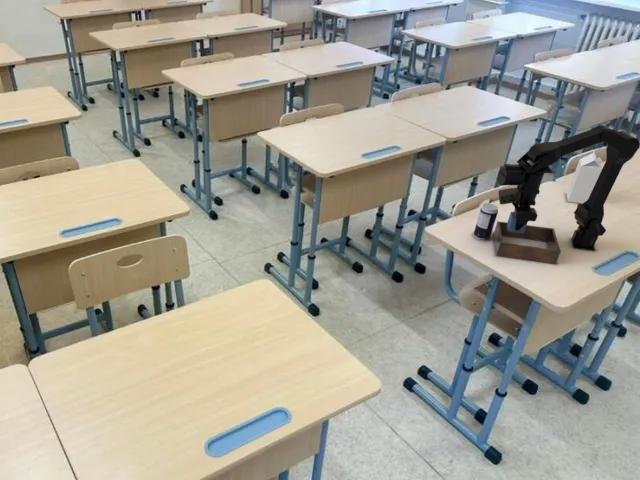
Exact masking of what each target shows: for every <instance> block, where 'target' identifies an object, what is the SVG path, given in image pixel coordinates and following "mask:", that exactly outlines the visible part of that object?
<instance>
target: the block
mask: <svg viewBox="0 0 640 480" xmlns="http://www.w3.org/2000/svg"><path fill="white" fill-rule="evenodd" d="M528 223H529V221H528V222H527V223H526V224H525V225H524V226H523V227H522V228H521V229H520V230H515V226H516V218H515V216H514V212H513V211H510V214H509V217H508V219H507V229H508V232H516V233H524V231H525V228H526V225H528Z"/></svg>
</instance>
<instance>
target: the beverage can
mask: <svg viewBox="0 0 640 480" xmlns="http://www.w3.org/2000/svg"><path fill="white" fill-rule="evenodd" d="M498 214H499V207H498V206H497V205H495V204H494V203H484V204H483V205H482V206H481V208H480V210H479V214H478V216H477V219H476V224H475V228H474V231H473V235H474V237H475V238H476V239H478V240H483V241H484V240H487V239H489V238H491V236H492V232H493V231H494V230H493V229H494V228H495V227H494V226H495V223H496V220H497V216H498Z"/></svg>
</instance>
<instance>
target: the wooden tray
mask: <svg viewBox="0 0 640 480" xmlns="http://www.w3.org/2000/svg"><path fill="white" fill-rule="evenodd" d="M507 222H508V221H507ZM507 222H505V221H498V220H497V222H496V225H495V227H494V230H493V240H494V248H495V255H496V257H502V258H510V259H516V260H524V261H530V262H531V261H532V262H538V263H544V264H552V265H556V264H557V262H558V259H559V257H560V254H561V247H560V244H559V240H558V237H557V233H556V230H555V228H554V227H553V228H551V227H546V226H545V227H544V226H538V225H529V224H527V225H526V228H525V231H524V233H516V232H508V229H507ZM503 236H505V237H512V238H519V239H526V240H534V241H539V242H540V241H541V242H547V243H546V244H547V246H548V248H547V247H539V246H531V245H523V244H516V243H509V242H503Z"/></svg>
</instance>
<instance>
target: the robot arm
mask: <svg viewBox="0 0 640 480" xmlns="http://www.w3.org/2000/svg"><path fill="white" fill-rule="evenodd" d="M601 143H605V144H607V145H606V148H605V150H606V151H605V153H606V155H605V156H606V160H605V162H604V164H603V167H602V170H601V173H600V175H599V177H598V179H597V181H596V183H595V186H594V188H593V190H592V192H591V194H590V196H589V198H588V200H587V201H585V202H584V203H583V204H582V203H577V206H576V209H575V210H574V211H573V214H574V217H573V218H574V220H576V221H575V222H576V225H578V226H577V228H576V229H575V230H574V231H573V234H572V236H571V238H570V242H571V243H572V245H573V248H574V249H579V250H588V251H595V250H596V248H595V245H596V242H597V240H598V239H599V236H603V235H604V234H605V233H606V232H607V230H606V228H605V227H604V225H603V224H602V223H603V220H604V216H605V204H606V201H607V199H608V197H609V195H610V193H611V192H612V189H613V187H614V185H615V182H616V181H617V179H618V177H619V175H620V172H621V170H622V169H623V166H624V165H625V164H626V163H628V162H629V161H630V160H632V159H633V157H634V156H635V154H636V153H637V152H638V151H639V149H640V141H639V139H638V138H637V137H635V136H633V135H631V134H630V133H628V131H626V130H619V131H617V130H615V129H613V128H610V127H608V126H606V125H605V124H598V125H597V126H595V127H593V128H591V129H588V130H586V131H583V132H580V133H577V134H574V135H572V136H569V137H566V138H563V139H561V140H558V141H545V142H540V143H539V142H538V143H535V144H533V145H531V146H530V148H529V149H528V151H526V152H525V153H524V154H523V155H522V156H521V157H520V158H519V159H518V160H517V161H516V163H515V164H514V163H513V164H511V163H505V164H504V165H503V167H501V168H500V170H498V172H497V183H498V185H499V186H516V187H510V188H503V189H499V190H498V191H497V193H498V200H499V201H498V202H499V204H500V205H509V204H512V206H513V207H514V211H512V212H514V216H515V218H516V226H515V230H520V229H521V228H522V227H523V226H524V225H525V224H526V223H527V222H528V223H529V222H536V221H537V219H538V212H537V210H536V208H534V207H535V206H536V199H537V196H538V195H539V194H540V187H541V184H542V181H543V178H544V176H545V174H552V173H553V170H552V169H551V168H550V166H551V165H553V164H555V163H557V162H558V161H559V160H560V159H561V158H562V157H564V156H567V155H570V154H573V153H575V152H578V151H582V150H585V149H586V148H589V147H592V146H595V145H598V144H601ZM529 161H530V162H531V163H532V164H530V162H529ZM531 206H534V207H531ZM528 223H527V224H528Z"/></svg>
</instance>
